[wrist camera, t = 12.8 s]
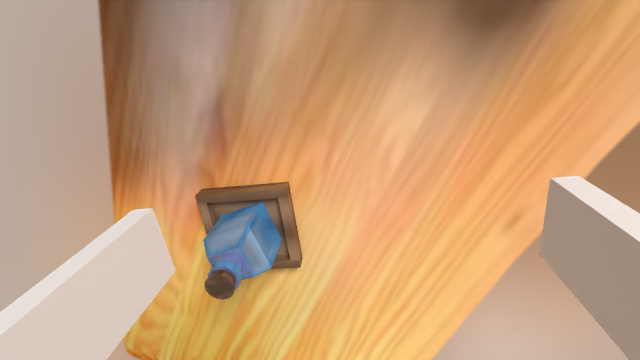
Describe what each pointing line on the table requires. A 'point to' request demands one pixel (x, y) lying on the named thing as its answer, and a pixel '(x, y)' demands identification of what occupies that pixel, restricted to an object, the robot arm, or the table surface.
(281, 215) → the walnut tray
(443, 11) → the table surface
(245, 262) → the perfume bottle
